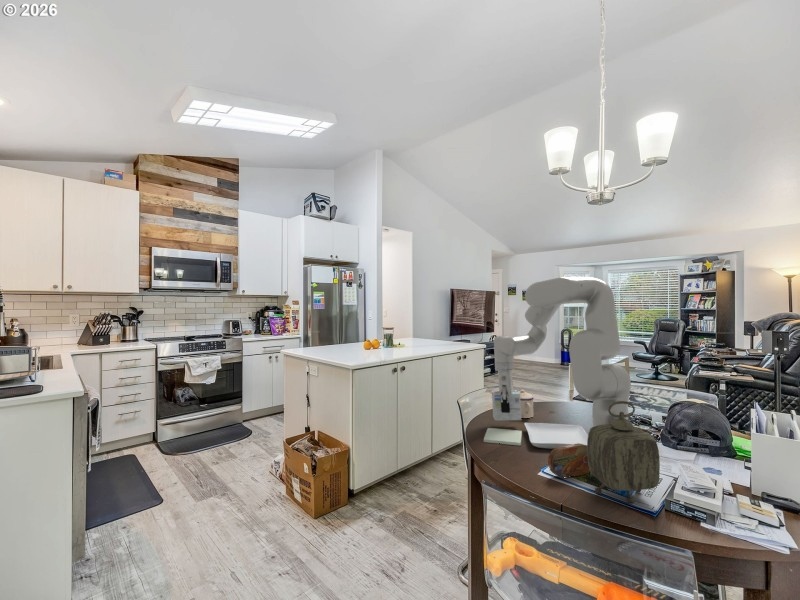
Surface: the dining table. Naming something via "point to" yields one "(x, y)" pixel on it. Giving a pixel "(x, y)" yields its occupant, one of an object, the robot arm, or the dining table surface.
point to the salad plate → (555, 435)
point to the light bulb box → (514, 406)
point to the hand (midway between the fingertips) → (506, 409)
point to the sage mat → (503, 436)
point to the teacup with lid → (526, 404)
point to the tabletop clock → (623, 455)
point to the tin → (569, 460)
